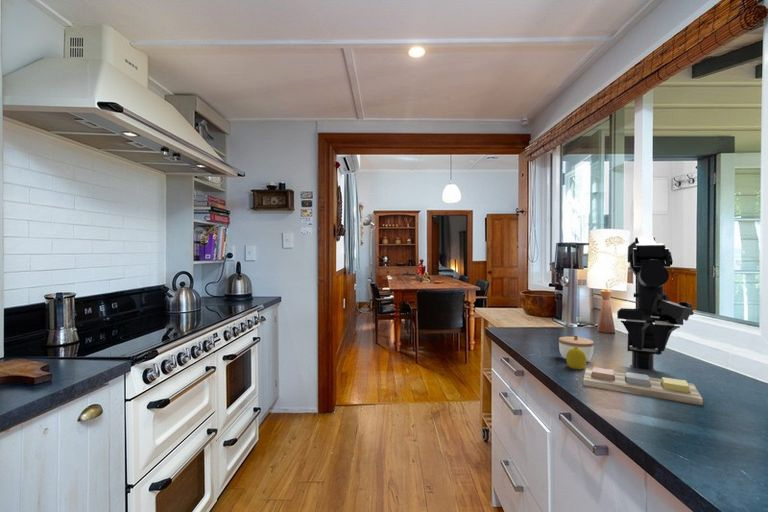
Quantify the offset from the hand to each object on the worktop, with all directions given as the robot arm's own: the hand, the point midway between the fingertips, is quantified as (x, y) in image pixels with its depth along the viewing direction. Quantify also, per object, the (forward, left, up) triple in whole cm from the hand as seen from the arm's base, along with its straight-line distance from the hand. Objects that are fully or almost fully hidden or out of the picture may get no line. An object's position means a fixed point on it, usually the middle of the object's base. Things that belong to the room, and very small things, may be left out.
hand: (650, 350), depth 95 cm
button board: (-3, -3, -12) cm, 13 cm away
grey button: (-3, -3, -11) cm, 12 cm away
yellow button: (-3, +5, -11) cm, 13 cm away
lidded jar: (-25, -19, -13) cm, 34 cm away
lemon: (-13, -18, -13) cm, 26 cm away
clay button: (-3, -11, -11) cm, 15 cm away
